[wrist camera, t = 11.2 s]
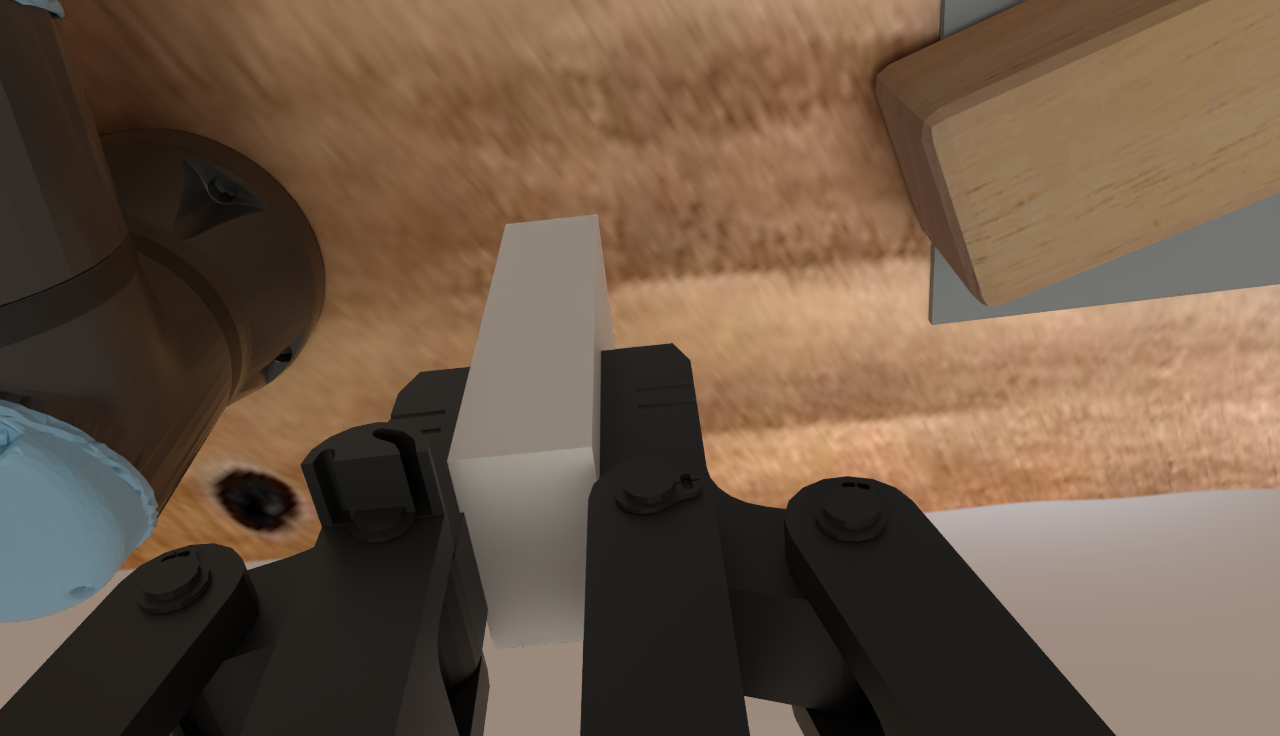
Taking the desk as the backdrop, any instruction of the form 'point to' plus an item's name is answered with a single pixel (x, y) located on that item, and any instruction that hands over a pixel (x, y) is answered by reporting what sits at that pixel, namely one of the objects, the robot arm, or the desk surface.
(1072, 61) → the block
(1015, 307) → the mat
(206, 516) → the desk surface
